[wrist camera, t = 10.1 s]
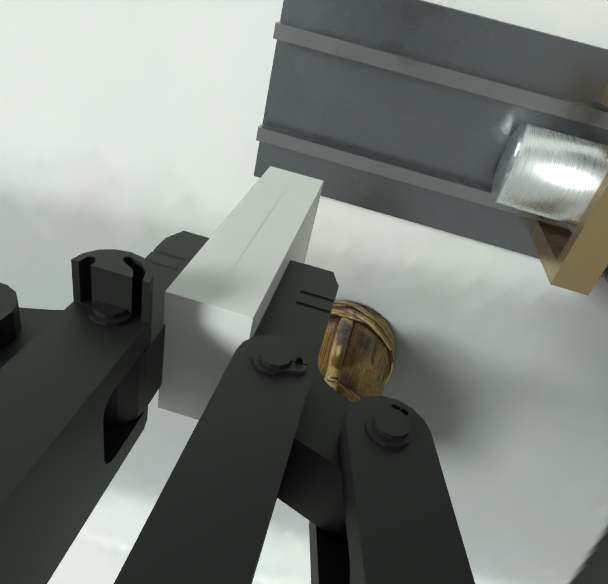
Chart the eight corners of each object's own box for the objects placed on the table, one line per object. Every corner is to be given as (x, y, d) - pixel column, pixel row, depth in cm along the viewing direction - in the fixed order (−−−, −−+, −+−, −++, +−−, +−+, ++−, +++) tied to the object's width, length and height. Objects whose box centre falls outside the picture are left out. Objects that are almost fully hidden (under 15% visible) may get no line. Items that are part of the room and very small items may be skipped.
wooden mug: (431, 265, 36) (436, 473, 21) (378, 401, 43) (353, 627, 28) (309, 231, 36) (226, 409, 21) (277, 371, 44) (199, 577, 28)
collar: (608, 82, 27) (653, 106, 22) (645, 92, 27) (700, 119, 22) (529, 233, 32) (550, 284, 27) (561, 242, 32) (588, 295, 27)
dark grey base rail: (293, -34, 28) (285, -35, 26) (845, 112, 26) (874, 121, 25) (257, 171, 35) (249, 180, 33) (698, 298, 33) (713, 315, 31)
